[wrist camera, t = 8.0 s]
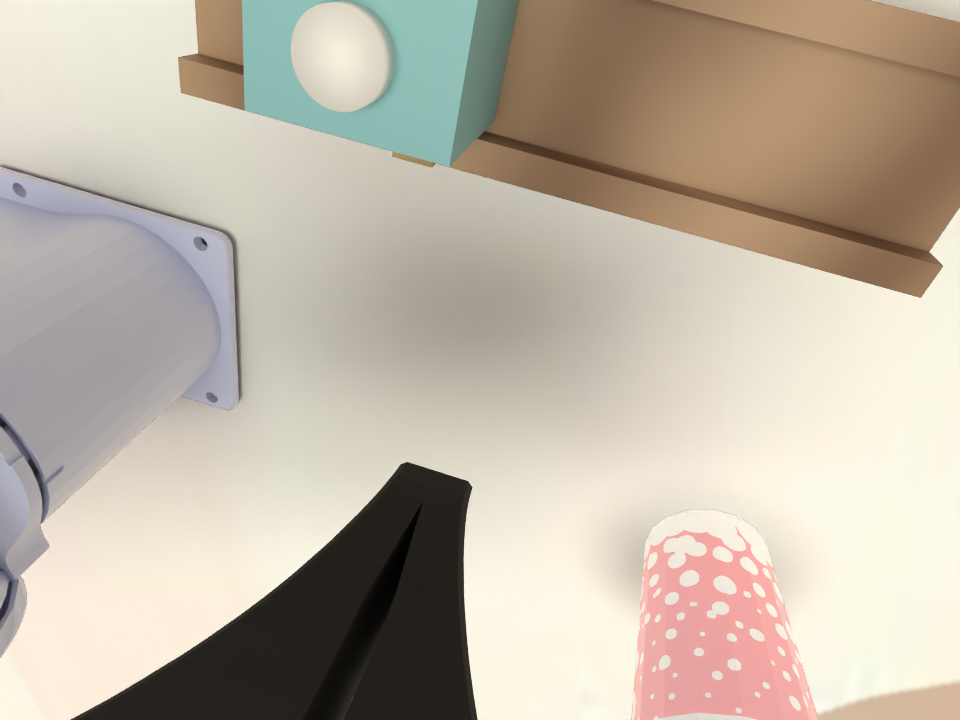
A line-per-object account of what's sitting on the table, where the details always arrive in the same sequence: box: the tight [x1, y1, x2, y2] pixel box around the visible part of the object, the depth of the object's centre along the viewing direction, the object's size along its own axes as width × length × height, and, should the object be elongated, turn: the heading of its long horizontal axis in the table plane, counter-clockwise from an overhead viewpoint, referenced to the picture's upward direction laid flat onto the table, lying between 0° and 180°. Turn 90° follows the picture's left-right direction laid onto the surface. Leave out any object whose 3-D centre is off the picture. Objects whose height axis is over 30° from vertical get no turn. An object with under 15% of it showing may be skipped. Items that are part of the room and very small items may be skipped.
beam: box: [178, 0, 960, 298], centre depth 14 cm, size 18×6×4 cm, turn 78°
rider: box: [242, 0, 519, 167], centre depth 12 cm, size 4×3×5 cm
